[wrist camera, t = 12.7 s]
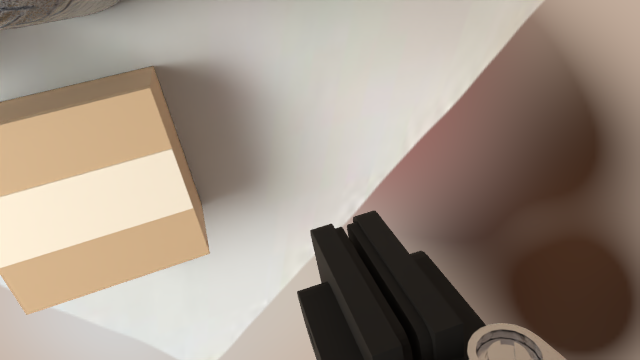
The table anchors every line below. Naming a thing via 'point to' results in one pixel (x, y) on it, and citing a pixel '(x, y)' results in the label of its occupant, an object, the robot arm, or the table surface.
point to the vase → (46, 11)
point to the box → (102, 89)
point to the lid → (91, 200)
